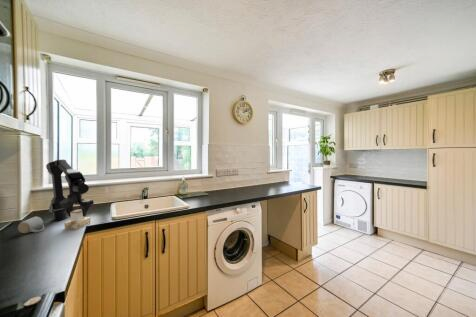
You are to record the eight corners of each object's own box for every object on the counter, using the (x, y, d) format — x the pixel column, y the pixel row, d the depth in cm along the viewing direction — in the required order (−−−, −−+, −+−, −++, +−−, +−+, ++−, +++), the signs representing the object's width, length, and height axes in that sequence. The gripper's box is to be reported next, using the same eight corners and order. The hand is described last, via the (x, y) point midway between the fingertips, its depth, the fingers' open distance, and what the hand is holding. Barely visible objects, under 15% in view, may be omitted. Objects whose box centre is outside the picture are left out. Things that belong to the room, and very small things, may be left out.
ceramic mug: (17, 234, 112) (15, 221, 112) (32, 228, 120) (31, 216, 120) (34, 234, 112) (33, 221, 111) (49, 228, 120) (48, 216, 120)
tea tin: (71, 221, 120) (70, 211, 120) (78, 218, 125) (77, 209, 125) (77, 221, 120) (77, 212, 119) (84, 218, 124) (84, 209, 124)
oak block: (64, 229, 118) (64, 223, 118) (77, 223, 127) (76, 217, 127) (79, 229, 118) (78, 222, 118) (90, 223, 127) (90, 217, 127)
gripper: (48, 195, 114) (50, 221, 115) (77, 195, 112) (79, 221, 113) (66, 191, 125) (68, 214, 126) (93, 190, 123) (95, 214, 124)
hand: (77, 216), depth 122 cm, fingers open, 9 cm apart
